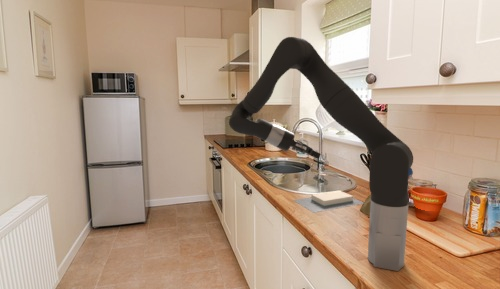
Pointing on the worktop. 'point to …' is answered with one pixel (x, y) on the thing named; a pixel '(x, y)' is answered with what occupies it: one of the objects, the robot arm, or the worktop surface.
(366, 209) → the rock
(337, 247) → the worktop surface
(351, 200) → the tile
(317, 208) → the board
